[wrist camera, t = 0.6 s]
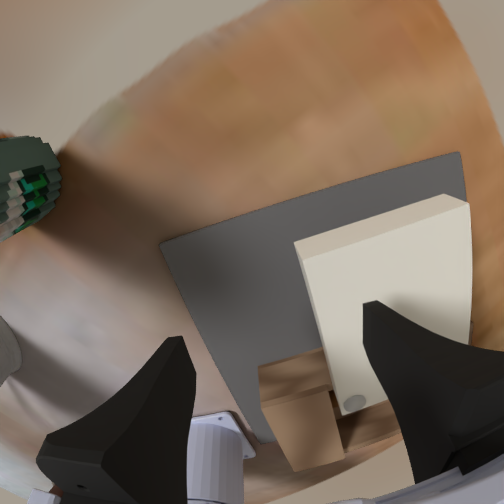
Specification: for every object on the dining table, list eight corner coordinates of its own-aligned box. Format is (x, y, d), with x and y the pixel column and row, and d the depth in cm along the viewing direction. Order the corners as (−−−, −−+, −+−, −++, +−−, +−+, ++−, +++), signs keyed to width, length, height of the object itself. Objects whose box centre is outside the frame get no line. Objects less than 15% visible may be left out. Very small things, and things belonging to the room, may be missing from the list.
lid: (449, 343, 19) (466, 364, 17) (333, 390, 20) (342, 417, 17) (443, 193, 15) (470, 204, 13) (293, 242, 16) (302, 261, 14)
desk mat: (260, 441, 28) (260, 444, 28) (160, 243, 21) (158, 245, 20) (460, 369, 27) (462, 371, 26) (456, 151, 19) (459, 152, 19)
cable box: (288, 434, 27) (294, 472, 23) (257, 365, 24) (260, 408, 20) (443, 378, 26) (464, 408, 22) (447, 298, 23) (477, 327, 18)
